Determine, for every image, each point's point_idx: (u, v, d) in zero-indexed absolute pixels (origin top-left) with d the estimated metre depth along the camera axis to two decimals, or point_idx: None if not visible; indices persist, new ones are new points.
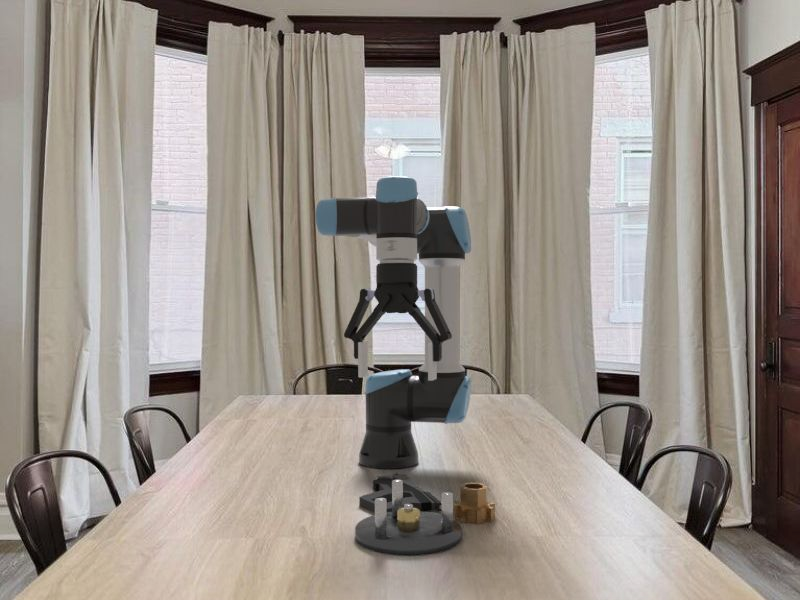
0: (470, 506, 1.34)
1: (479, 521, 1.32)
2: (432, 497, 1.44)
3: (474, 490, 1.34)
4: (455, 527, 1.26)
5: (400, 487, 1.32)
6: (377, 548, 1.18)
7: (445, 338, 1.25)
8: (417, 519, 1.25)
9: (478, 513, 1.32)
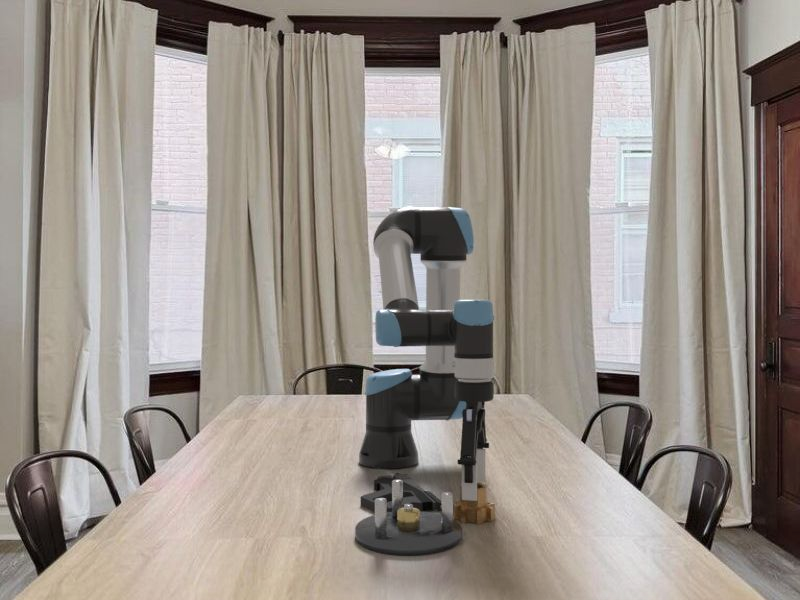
0: (470, 506, 1.34)
1: (479, 521, 1.32)
2: (433, 497, 1.44)
3: None
4: (455, 527, 1.26)
5: (400, 487, 1.32)
6: (377, 548, 1.18)
7: (460, 461, 1.27)
8: (417, 519, 1.25)
9: (478, 513, 1.32)
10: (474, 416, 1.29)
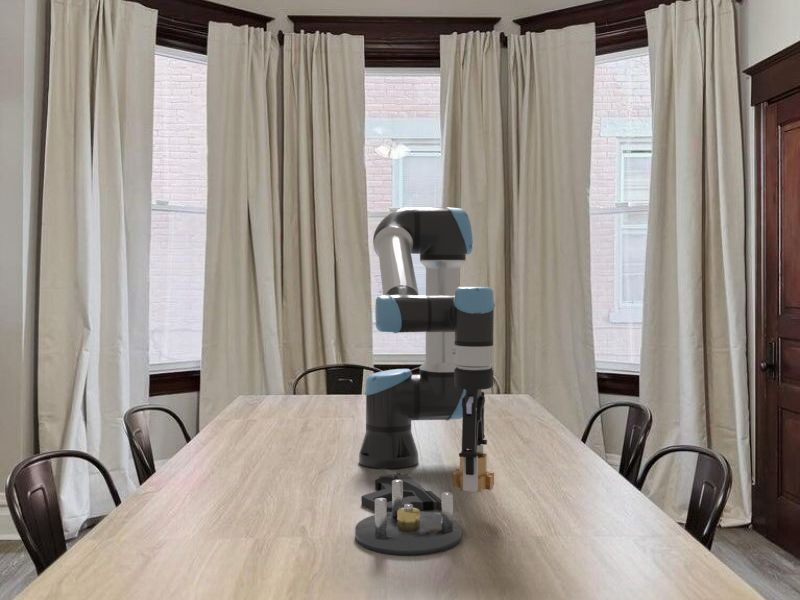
0: None
1: (478, 489, 1.33)
2: (434, 496, 1.44)
3: None
4: (455, 527, 1.26)
5: (400, 487, 1.32)
6: (377, 548, 1.18)
7: None
8: (417, 519, 1.25)
9: None
10: (474, 410, 1.30)
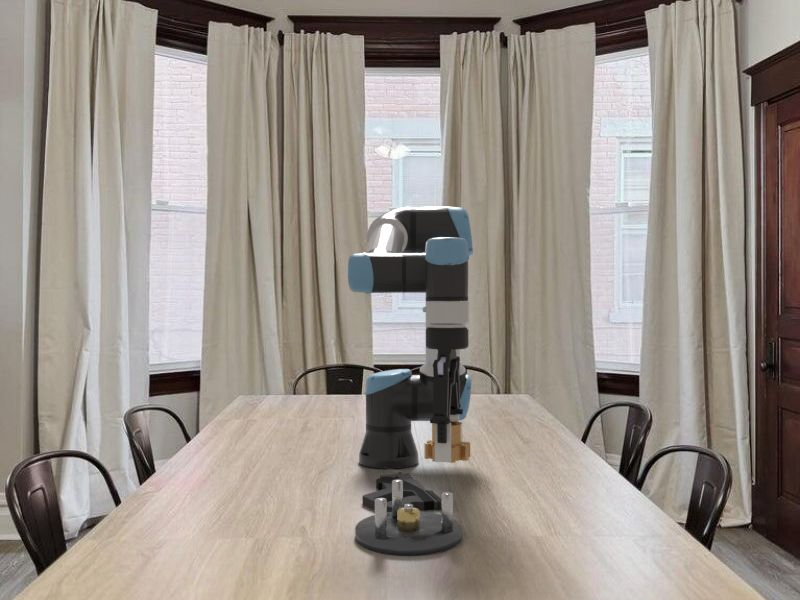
0: None
1: (452, 459, 1.20)
2: (435, 496, 1.45)
3: None
4: (455, 527, 1.26)
5: (400, 487, 1.32)
6: (377, 548, 1.18)
7: None
8: (417, 519, 1.25)
9: (451, 451, 1.20)
10: (446, 370, 1.17)
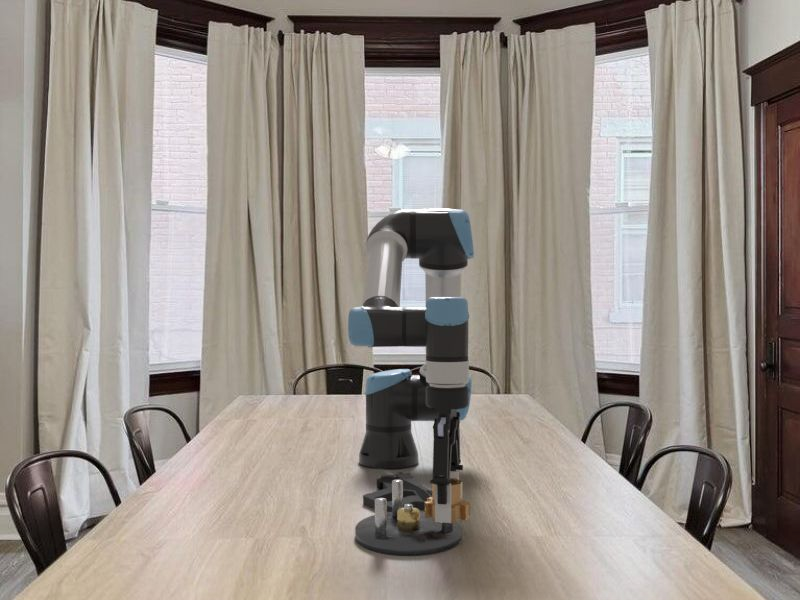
0: None
1: (452, 520, 1.20)
2: None
3: None
4: (455, 527, 1.26)
5: (400, 487, 1.32)
6: (377, 548, 1.18)
7: None
8: (417, 519, 1.25)
9: (451, 511, 1.20)
10: (446, 432, 1.18)
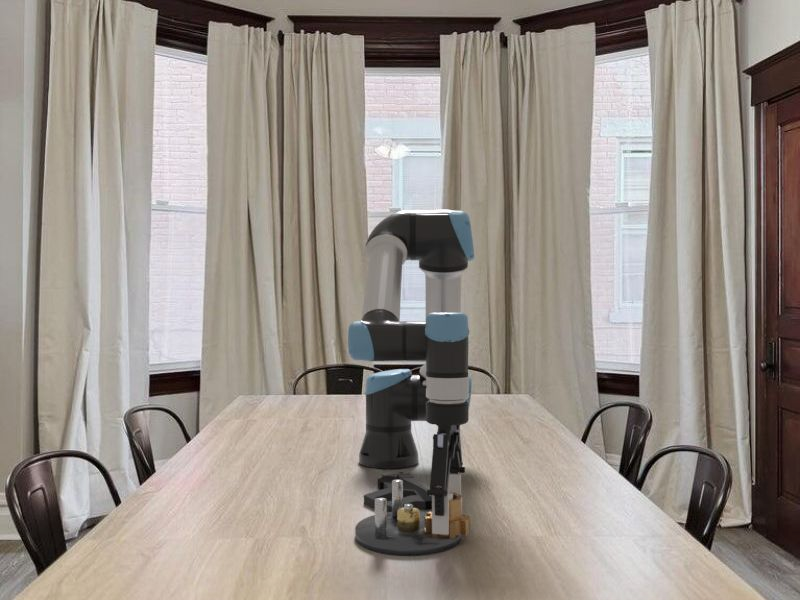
0: None
1: (452, 535, 1.21)
2: None
3: None
4: None
5: (400, 487, 1.32)
6: (377, 548, 1.18)
7: None
8: (417, 519, 1.25)
9: (451, 526, 1.21)
10: (446, 442, 1.17)
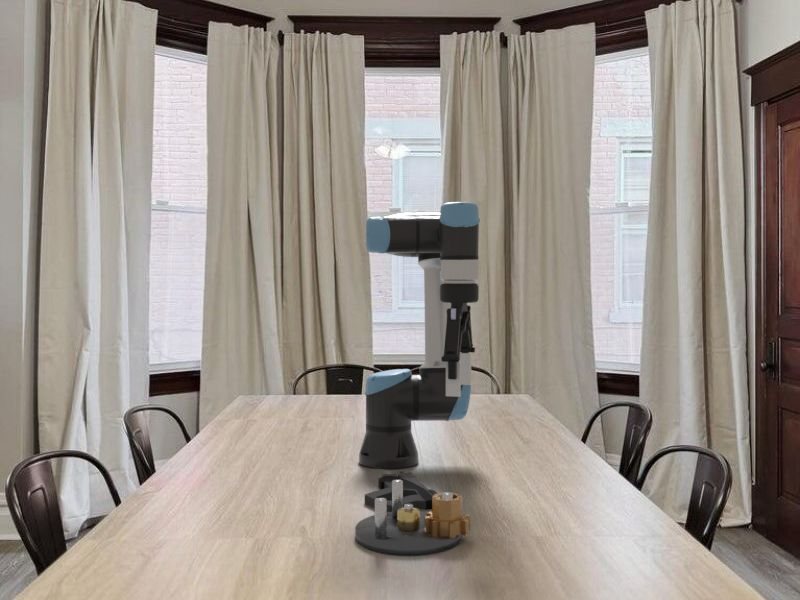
0: (443, 519, 1.22)
1: (452, 535, 1.21)
2: None
3: (447, 501, 1.22)
4: None
5: (400, 487, 1.32)
6: (377, 548, 1.18)
7: (443, 357, 1.30)
8: (417, 519, 1.25)
9: (451, 526, 1.21)
10: (458, 314, 1.32)
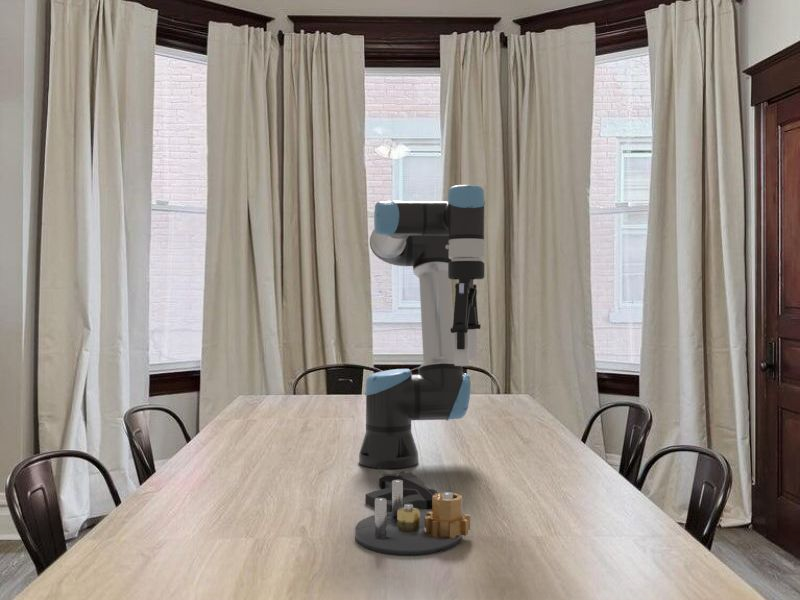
0: (443, 519, 1.22)
1: (452, 535, 1.21)
2: None
3: (447, 501, 1.22)
4: None
5: (400, 487, 1.32)
6: (377, 548, 1.18)
7: (453, 328, 1.38)
8: (417, 519, 1.25)
9: (451, 526, 1.21)
10: (466, 289, 1.40)
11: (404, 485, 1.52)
